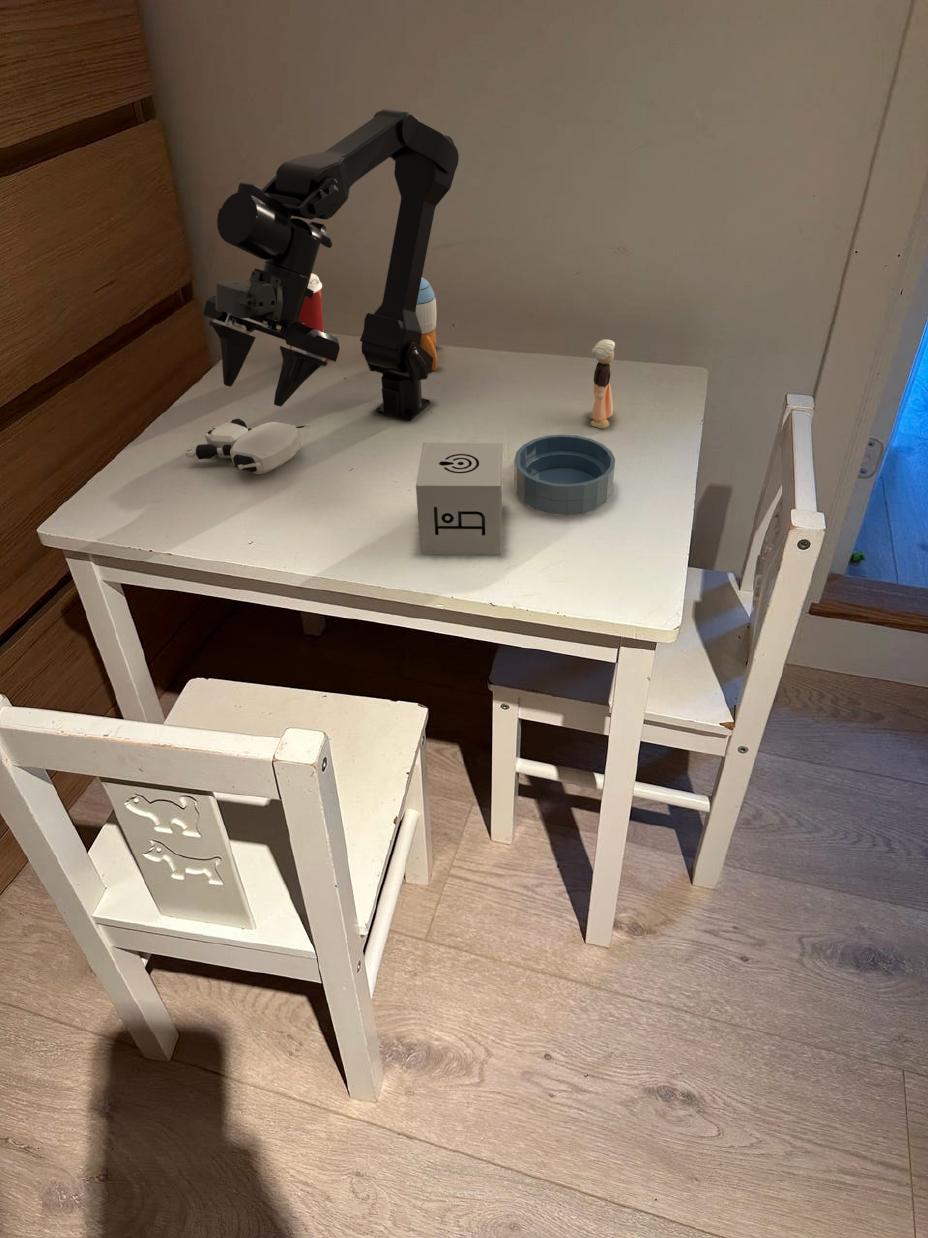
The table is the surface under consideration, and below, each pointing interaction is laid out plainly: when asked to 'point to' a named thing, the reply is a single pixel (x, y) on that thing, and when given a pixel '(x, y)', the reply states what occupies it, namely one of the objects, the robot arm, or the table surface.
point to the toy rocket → (427, 319)
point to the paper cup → (313, 307)
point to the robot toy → (251, 445)
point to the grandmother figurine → (602, 384)
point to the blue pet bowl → (563, 474)
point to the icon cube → (460, 498)
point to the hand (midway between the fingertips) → (251, 395)
